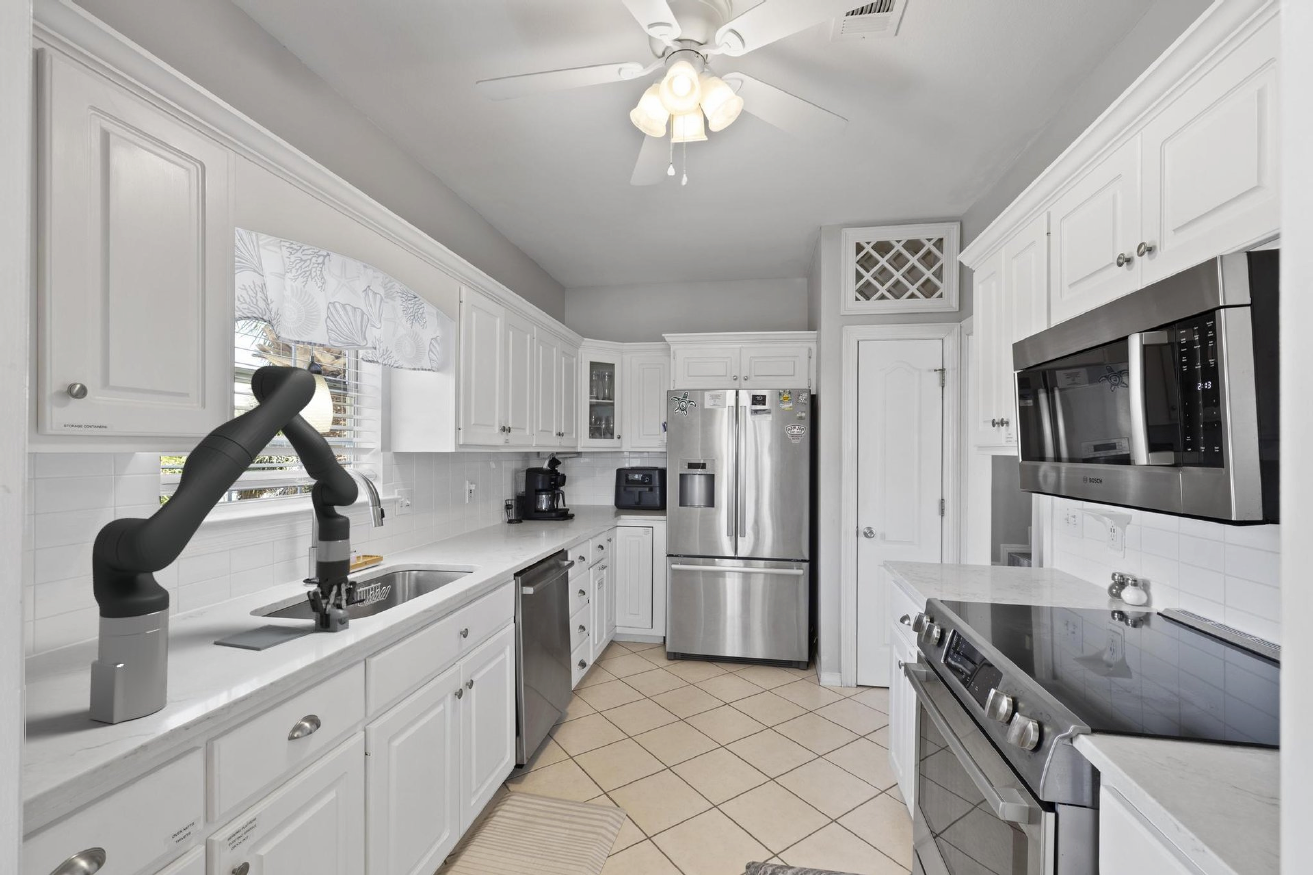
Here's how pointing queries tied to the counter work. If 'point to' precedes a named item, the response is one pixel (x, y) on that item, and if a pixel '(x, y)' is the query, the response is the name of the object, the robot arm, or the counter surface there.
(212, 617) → the counter surface
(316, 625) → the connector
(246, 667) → the counter surface
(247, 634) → the slate mat
